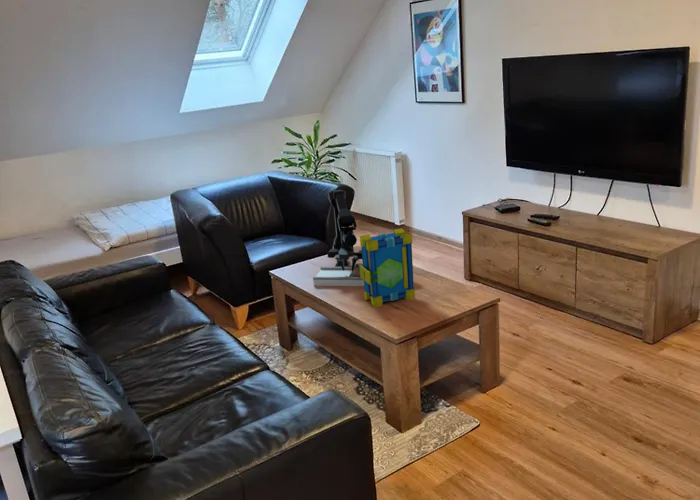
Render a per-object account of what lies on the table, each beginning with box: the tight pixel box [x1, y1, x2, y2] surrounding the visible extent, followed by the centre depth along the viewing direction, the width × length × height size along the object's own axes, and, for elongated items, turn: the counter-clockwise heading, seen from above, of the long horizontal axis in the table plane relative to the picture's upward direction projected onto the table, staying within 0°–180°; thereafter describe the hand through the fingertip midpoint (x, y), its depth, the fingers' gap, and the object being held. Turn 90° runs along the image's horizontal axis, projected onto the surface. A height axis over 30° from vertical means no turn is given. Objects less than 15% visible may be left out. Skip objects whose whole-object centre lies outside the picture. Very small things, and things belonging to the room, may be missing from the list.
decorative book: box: [359, 227, 416, 308], centre depth 278 cm, size 14×23×30 cm, turn 111°
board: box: [312, 266, 364, 287], centre depth 308 cm, size 15×31×5 cm, turn 77°
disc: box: [353, 262, 363, 277], centre depth 306 cm, size 11×11×4 cm
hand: (348, 270), depth 307 cm, fingers open, 4 cm apart
